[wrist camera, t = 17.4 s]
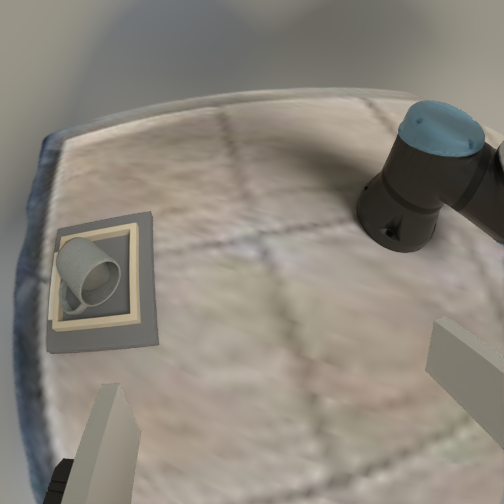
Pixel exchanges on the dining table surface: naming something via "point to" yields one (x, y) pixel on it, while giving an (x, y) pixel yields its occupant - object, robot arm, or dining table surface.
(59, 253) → the ceramic mug
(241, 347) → the dining table surface
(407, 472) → the dining table surface
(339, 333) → the dining table surface
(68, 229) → the charcoal pocket board
